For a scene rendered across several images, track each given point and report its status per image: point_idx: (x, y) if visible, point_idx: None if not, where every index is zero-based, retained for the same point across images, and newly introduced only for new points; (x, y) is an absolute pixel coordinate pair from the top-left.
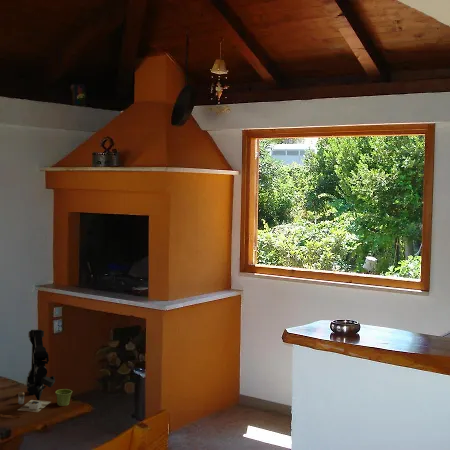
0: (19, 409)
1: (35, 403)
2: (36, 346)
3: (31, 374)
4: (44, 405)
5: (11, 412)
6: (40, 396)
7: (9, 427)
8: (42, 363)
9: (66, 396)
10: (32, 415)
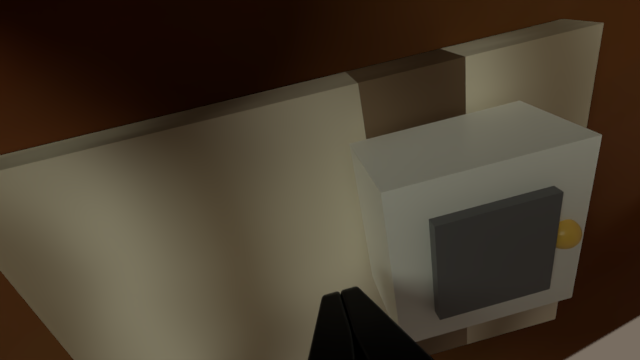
0: (534, 313)
1: (553, 217)
2: None
3: None
4: (229, 152)
5: (533, 334)
6: (327, 358)
7: None
8: None
9: None
10: (604, 80)
